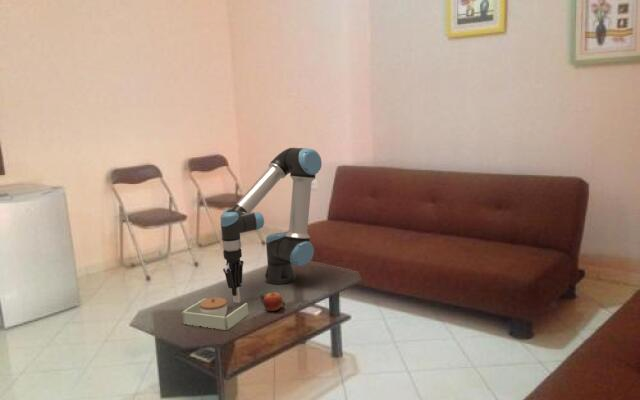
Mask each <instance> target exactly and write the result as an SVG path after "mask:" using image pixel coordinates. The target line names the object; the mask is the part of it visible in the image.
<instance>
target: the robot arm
mask: <svg viewBox="0 0 640 400" xmlns="http://www.w3.org/2000/svg"><path fill="white" fill-rule="evenodd" d="M322 164H323V163H322V157H321V156H320V154H319V153H318V151H316V149H313V148H308V147H304V148H302V147H289V148H286V149H284V150H282V151H281V152H280V153H278V154H277V155H276V156H275V157H274V158H273V159H272V161H270V163H268V168H267V169H266V170H265V171H264V172H263V174H262V175H261V176H260V177H259V178H258V179H257V180H256V181H255V183H253V185H251V187H250V188H249V189H248V190H247V191H246V192H245V193H244V195H243V196H241V198H240V199H239V200H238V201H237V202H236V203H235V205H234V206H233V207H231V208H227V209H226V210H224V211H223V212H222V213H221V215H220V227H221V229H220V231H221V240H222V249H223V251H222V252H223V253H222V254H223V259H224V260H226V264H225V266H226V267H225V268H223V270H222V271H223V273H224V275H225V280H226V284H227V287H228V289H231V295H232V303H238V304H239V303H241V294H240V293H241V291H240V288H241V287H242V286H243V285H242V284H243V266H244V263H245V262H244V260H241V258H242V249H241V248H242V244H241V243H242V241H241V234H243V233H248V232H252V231H257V230H260V229H262V228H264V225H265V218H264V215H263V214H262V213H261V212H260V211H254V212H252V211H253V210H254V209H255V208H256V207H257V206H258V205H259V204H260V203H261V202H262V200H263V199H264V198H265V197H266V196H267V194H268V193H269V192H270V191H271V190H273V188H274V187H275V186H276V184H278V182H279V181H280V180H281V179H284V178H286V177H287V176H288V174H290V178H291V179H292V190H291V202H290V203H291V204H290V205H291V206H290V213H289V215H290V216H289V227H288V231H287V232H285V231H284V232H282V231H281V232H275V233H272V234H271V233H270V234H268V235H267V236H266V238H265V245H266V262H267V267H266V271H265V274H264V281H265V282H266V283H267V284H270V285H286V284H289V282H290V283H292V281H293V282H295V280H296V279H297V275H296V272H295V269H294V266H298V267H299V266H300V267H303V266H306V265H308V263H310V262H311V261H312V259H313V257H314V254H315V248H314V246H313V244H312V243H311V237H310V235H309V234H308V226H309V215H310V207H311V206H310V204H311V195H312V194H311V192H312V182H313V181H314V180H315V179H316V175H317V174H318V173H319V172H320V171H321V169H322ZM285 283H286V284H285Z"/></svg>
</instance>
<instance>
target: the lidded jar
mask: <svg viewBox="0 0 640 400" xmlns="http://www.w3.org/2000/svg"><path fill="white" fill-rule="evenodd" d="M200 310H201V314H208V315H215V316H223V317H226V316H227V311H228V301H227V299H225V298H223V297H211V298H207V299H206V300H203V301H202V302H201V303H200Z"/></svg>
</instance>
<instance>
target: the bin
mask: <svg viewBox="0 0 640 400" xmlns="http://www.w3.org/2000/svg"><path fill="white" fill-rule="evenodd" d="M206 299H208V298H202V299H201V300H199V301H198V302H196V303H194V304H193V305H191V306H189V307H188V308H186V309H184V310H183V311H181V312H180V315H181V324H182V325H185V324H187V325H186V326H192V325H193V326H194V327H199V326H202V327H201V328H207V327H208V328H209V329H214V328H215V329H216V330H223V331H228V330H230V329H231V328H232V327H234V326H235V325H237V324H238V323H239V322H241V321H242V320H244V318H246V317H247V316H249V306H248V305H249V303H247V302H244V303H243V304H242V305H241V306H239V307H237V308H236V309H235V310H233V311H232V312H230V313H229V314H226V315H225V317H223V316H215V315H208V314H201V310H200V303H201V302H202V301H203V300H206ZM215 329H214V330H215Z"/></svg>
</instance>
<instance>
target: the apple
mask: <svg viewBox="0 0 640 400" xmlns="http://www.w3.org/2000/svg"><path fill="white" fill-rule="evenodd" d="M283 301H284V299H283V297H282V295H281V294H280V293H279V292H269V293H267V294H266V295H265V296H263V300H262V304H263V307H264V308H265V309H266V310H268V311H272V312H275V311H277V310H279V309H281V307H282V305H283Z"/></svg>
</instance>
